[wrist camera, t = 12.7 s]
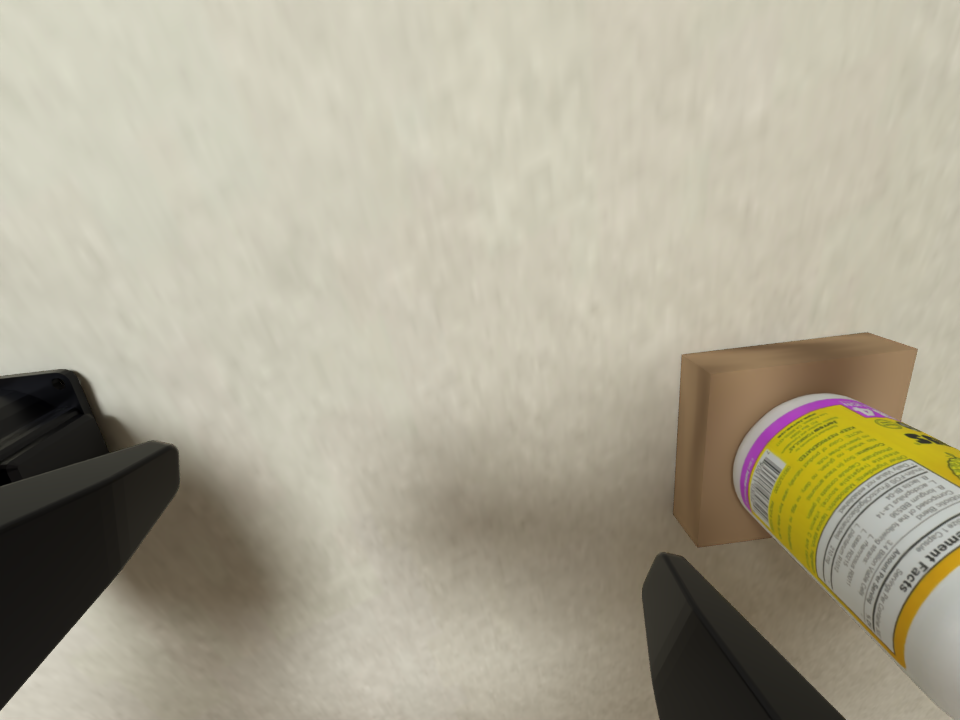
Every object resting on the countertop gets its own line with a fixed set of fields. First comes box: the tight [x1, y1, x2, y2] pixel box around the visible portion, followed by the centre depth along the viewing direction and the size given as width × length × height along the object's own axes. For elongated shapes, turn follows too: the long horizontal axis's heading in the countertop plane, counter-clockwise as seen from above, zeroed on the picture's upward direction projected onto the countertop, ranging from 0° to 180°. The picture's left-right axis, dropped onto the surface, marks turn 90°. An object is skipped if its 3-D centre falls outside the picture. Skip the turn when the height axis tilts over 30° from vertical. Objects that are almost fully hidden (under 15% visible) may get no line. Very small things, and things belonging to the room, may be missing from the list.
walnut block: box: [673, 332, 918, 548], centre depth 22 cm, size 9×9×2 cm
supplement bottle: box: [733, 393, 960, 720], centre depth 15 cm, size 7×7×13 cm
